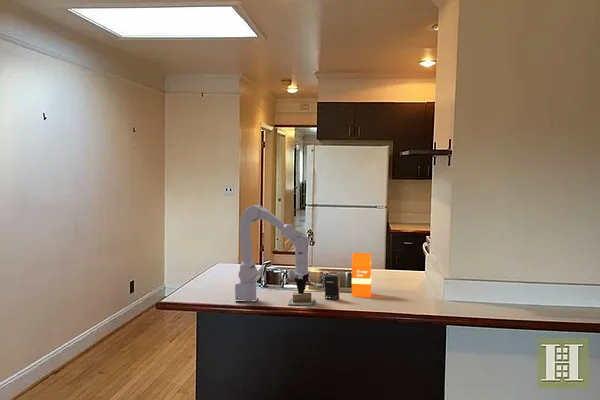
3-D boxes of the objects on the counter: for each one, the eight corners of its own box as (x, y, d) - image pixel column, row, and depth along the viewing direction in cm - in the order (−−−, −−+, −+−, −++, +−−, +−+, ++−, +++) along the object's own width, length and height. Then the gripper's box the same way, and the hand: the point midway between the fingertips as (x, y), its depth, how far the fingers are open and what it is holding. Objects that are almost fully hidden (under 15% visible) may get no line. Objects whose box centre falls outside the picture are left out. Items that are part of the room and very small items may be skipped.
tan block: (310, 302, 232) (310, 294, 231) (292, 302, 232) (292, 294, 232) (311, 300, 236) (311, 292, 236) (293, 300, 237) (293, 292, 237)
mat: (288, 305, 229) (288, 304, 229) (291, 299, 240) (291, 298, 240) (313, 306, 228) (313, 304, 228) (315, 300, 239) (315, 298, 239)
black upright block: (322, 299, 240) (322, 275, 239) (326, 298, 243) (326, 273, 243) (337, 301, 237) (336, 276, 236) (340, 299, 240) (340, 274, 240)
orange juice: (370, 296, 245) (370, 254, 244) (351, 296, 247) (351, 254, 246) (371, 293, 253) (371, 252, 252) (353, 292, 254) (353, 251, 253)
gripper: (309, 264, 226) (309, 295, 226) (311, 259, 240) (311, 288, 241) (293, 264, 226) (293, 295, 227) (296, 259, 241) (296, 288, 242)
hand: (301, 291), depth 234 cm, fingers open, 7 cm apart
